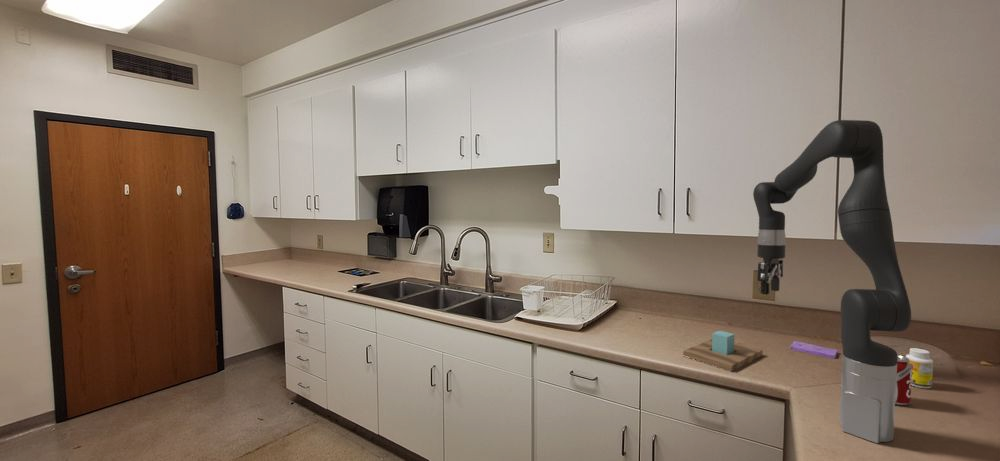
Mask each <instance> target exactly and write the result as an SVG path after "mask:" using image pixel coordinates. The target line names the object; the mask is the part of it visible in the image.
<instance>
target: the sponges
mask: <svg viewBox="0 0 1000 461" xmlns="http://www.w3.org/2000/svg"><path fill="white" fill-rule="evenodd" d="M789 348H790V350H793V351H797V352H802V353H805V354H806V353H807V354H812V355H816V356H821V357H825V358H830V359H836V357H837V355H838V353H839V351H838V350H837V349H834V348H828V347H823V346H821V345H820V346H819V345H815V344H810V343H806V342H801V341H799V340H794V341H793V343H792V344H791V345H790V347H789Z"/></svg>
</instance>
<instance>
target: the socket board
mask: <svg viewBox="0 0 1000 461" xmlns="http://www.w3.org/2000/svg"><path fill="white" fill-rule="evenodd" d="M682 354H683V355H685V356H688V357H690V358H693V359H696V360H699V361H702V362H704V363H703V364H705V363H707V364H706V365H709V364H710V365H709V366H712V365H714V366H713V367H715V366H717V367H716V368H718V367H719V369H721V368H722V370H724V371H728V372H731V373H732V372H734V371H736V370H738V369H740V368H741V367H743V366H746V365H747V364H749V363H751V362H753V361H755V360H757V359H759V358H761V357H762V356H763V349H761V348H760V349H759V348H756V347H753V346H749V345H745V344H741V343H737V342H734V353H732V354H730V355H725V354H721V353H718V352H714V351H712V338H711V339H709V340H707V341H704V342H702V343H699V344H697V345H694V346H692V347H688V348H686V349H684V350H683V351H682ZM683 355H682V356H683ZM760 356H761V357H760ZM758 357H759V358H758ZM690 358H689V359H690ZM756 358H757V359H756ZM693 359H692V360H693ZM754 359H755V360H754ZM696 360H695V361H696ZM752 360H753V361H752ZM699 361H698V362H699ZM750 361H751V362H750ZM702 362H701V363H702ZM748 362H749V363H748Z"/></svg>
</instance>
